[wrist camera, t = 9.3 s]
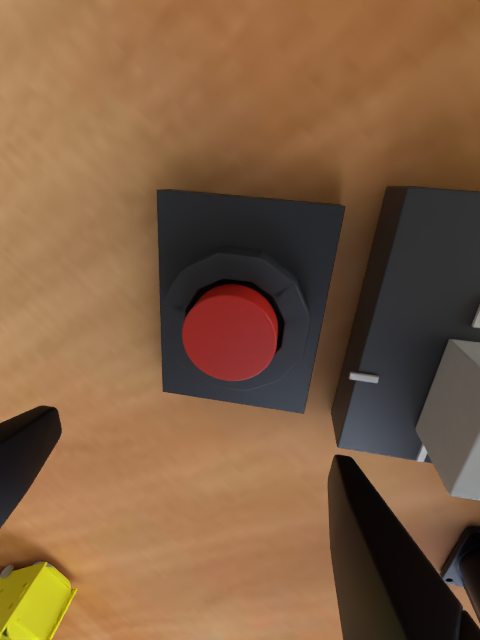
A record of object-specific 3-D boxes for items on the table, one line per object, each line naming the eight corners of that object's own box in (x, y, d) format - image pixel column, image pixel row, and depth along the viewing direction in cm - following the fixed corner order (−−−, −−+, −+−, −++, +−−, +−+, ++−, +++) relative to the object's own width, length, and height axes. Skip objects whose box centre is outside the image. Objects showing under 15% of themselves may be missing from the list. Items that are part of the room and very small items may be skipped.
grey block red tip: (449, 434, 16) (498, 509, 13) (414, 429, 17) (451, 502, 13) (490, 342, 14) (563, 400, 10) (448, 338, 14) (506, 392, 11)
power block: (302, 396, 21) (305, 435, 17) (171, 377, 21) (151, 410, 18) (340, 204, 16) (353, 208, 13) (168, 189, 17) (140, 189, 13)
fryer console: (479, 436, 20) (512, 479, 17) (325, 412, 21) (331, 449, 18) (598, 202, 14) (677, 206, 11) (378, 185, 15) (399, 184, 12)
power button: (272, 368, 16) (270, 388, 15) (191, 356, 17) (181, 374, 15) (283, 288, 15) (282, 301, 13) (193, 278, 15) (181, 289, 13)
